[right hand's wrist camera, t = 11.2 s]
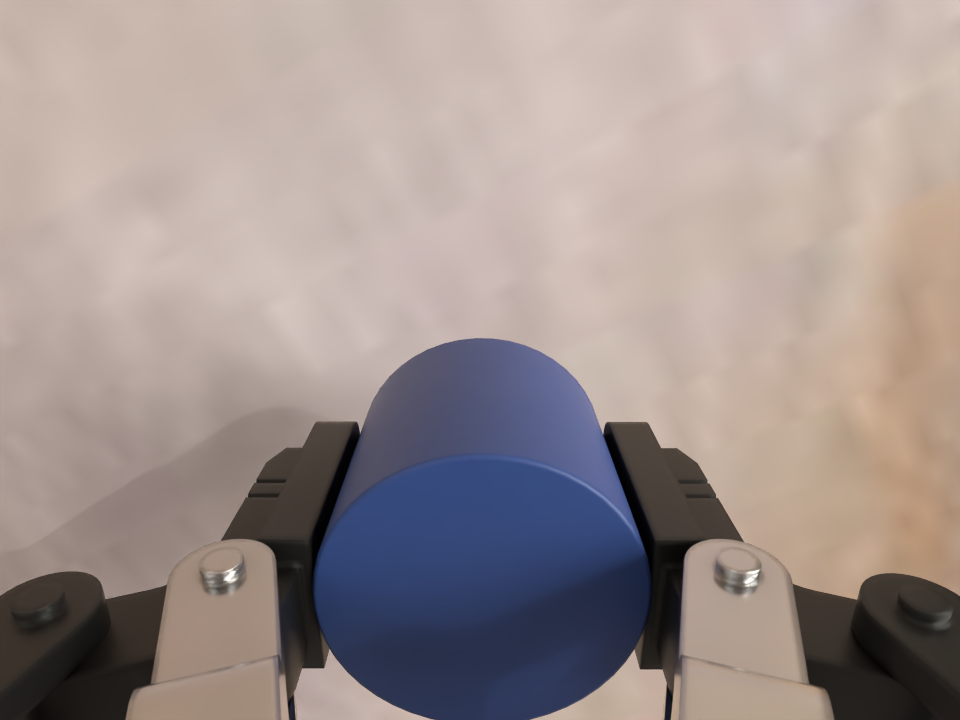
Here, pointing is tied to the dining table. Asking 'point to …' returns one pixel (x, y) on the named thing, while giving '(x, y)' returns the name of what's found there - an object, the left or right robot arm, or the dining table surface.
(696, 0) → the dining table surface
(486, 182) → the dining table surface
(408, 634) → the cylinder
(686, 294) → the dining table surface
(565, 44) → the dining table surface
